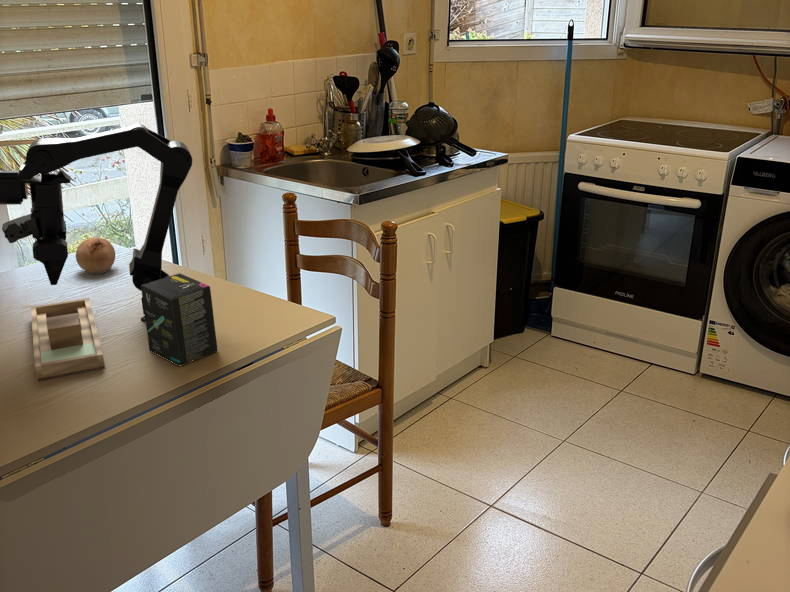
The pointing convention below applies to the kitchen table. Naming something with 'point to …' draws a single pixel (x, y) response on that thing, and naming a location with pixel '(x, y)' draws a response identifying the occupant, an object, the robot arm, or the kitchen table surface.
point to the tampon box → (179, 318)
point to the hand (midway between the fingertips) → (53, 276)
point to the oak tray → (43, 343)
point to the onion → (95, 255)
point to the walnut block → (64, 331)
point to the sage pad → (67, 352)
